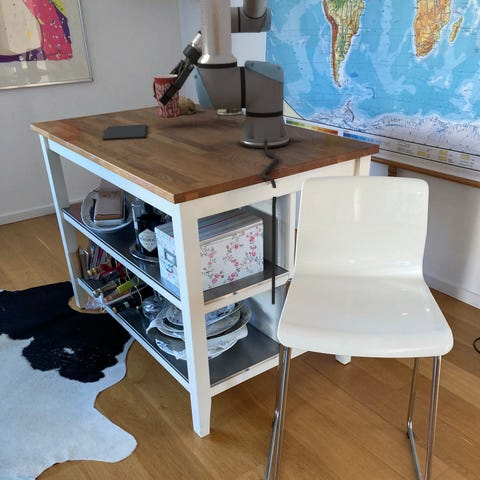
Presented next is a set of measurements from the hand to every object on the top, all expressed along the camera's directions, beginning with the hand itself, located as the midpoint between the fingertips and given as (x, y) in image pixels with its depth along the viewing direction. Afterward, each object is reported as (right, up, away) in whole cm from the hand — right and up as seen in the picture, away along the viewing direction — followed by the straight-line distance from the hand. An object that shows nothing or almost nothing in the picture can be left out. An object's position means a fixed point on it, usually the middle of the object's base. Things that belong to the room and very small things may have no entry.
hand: (158, 101), depth 186 cm
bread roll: (+5, +7, +27) cm, 28 cm away
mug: (+3, -4, +3) cm, 6 cm away
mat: (-11, -13, -4) cm, 17 cm away
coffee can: (+25, +5, +24) cm, 35 cm away
